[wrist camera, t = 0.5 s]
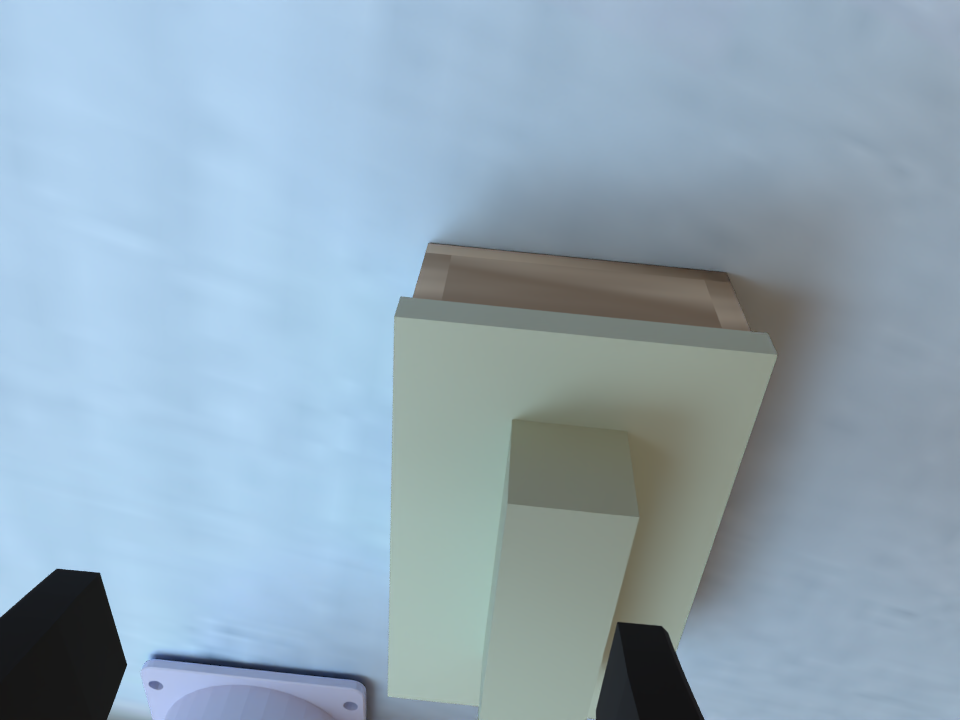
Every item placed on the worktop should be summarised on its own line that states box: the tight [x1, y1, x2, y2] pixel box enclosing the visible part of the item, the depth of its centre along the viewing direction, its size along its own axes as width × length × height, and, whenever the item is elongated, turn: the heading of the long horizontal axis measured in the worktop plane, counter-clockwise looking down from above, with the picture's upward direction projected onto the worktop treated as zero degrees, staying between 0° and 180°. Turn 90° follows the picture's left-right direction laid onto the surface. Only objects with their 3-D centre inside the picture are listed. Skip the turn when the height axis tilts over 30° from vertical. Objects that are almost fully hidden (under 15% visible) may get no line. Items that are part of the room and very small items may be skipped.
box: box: [413, 243, 751, 331], centre depth 20 cm, size 12×7×3 cm, turn 176°
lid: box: [388, 297, 778, 720], centre depth 18 cm, size 12×7×4 cm, turn 176°
